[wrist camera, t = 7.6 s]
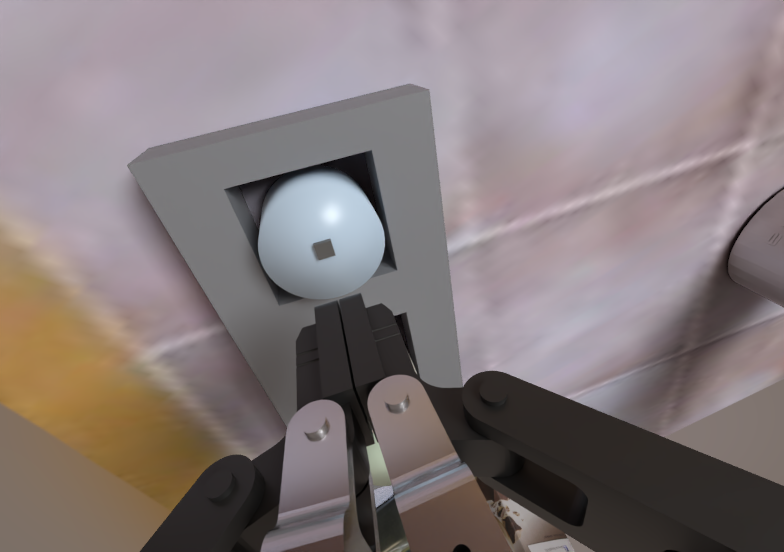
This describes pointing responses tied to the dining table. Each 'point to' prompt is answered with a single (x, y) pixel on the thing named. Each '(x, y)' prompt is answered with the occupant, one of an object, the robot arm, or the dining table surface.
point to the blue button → (319, 233)
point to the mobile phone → (391, 528)
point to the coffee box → (523, 525)
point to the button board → (240, 235)
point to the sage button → (377, 465)
